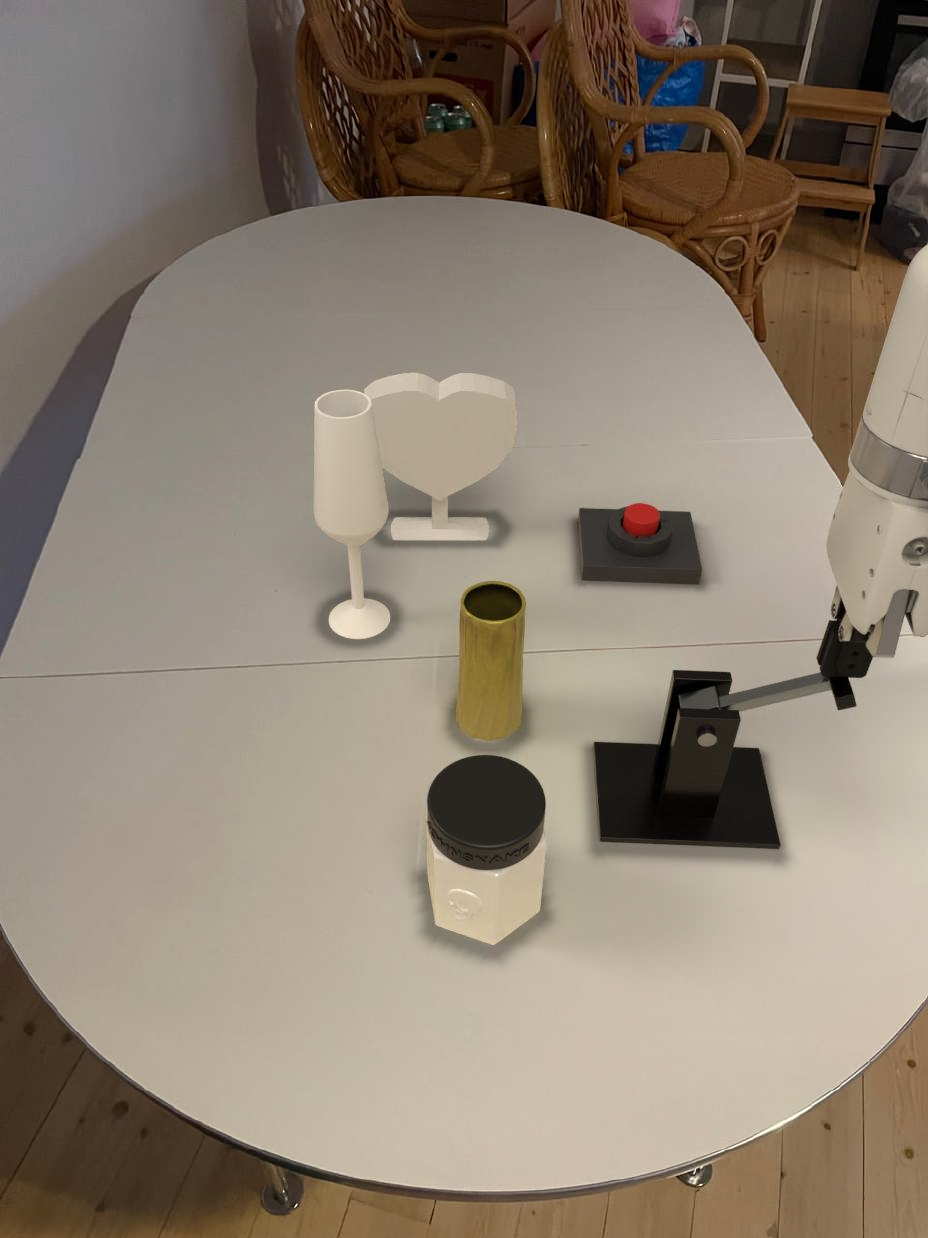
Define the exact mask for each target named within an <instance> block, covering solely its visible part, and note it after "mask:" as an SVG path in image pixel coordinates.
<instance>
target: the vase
mask: <svg viewBox="0 0 928 1238" xmlns="http://www.w3.org/2000/svg"><path fill="white" fill-rule="evenodd" d="M459 604H460V605H459V607H460V608H459V631H458V632H459V635H458V637H459V641H458V642H459V647H458V648H459V649H458V681H457V692H456V705H455V720H456V722H457V723H458V726H459V729H460V730H461V731H462V732H464V733H465V734H467V735H468V736H470V738H472V739H478V740H483V741H486V742H491V741H494V740H501V739H502V740H503V739H506V738H507V737H509V736H510V735H511V734H513V733H514V732H515V731H517V730H519V729H520V727H521V725H522V717H523V692H524V691H523V690H524V689H523V687H524V684H523V683H524V676H523V675H524V674H523V673H524V672H523V670H524V647H525V635H526V634H525V631H526V607H527V600H526V597H525V595H524V594H523V592H522V591H521V590H520V589H519V588H518V587H516V586H515V585H513V584H512V583H508V582H504V581H501V580H485V581H481V582H478V583H474V584H472V585H471V586H469V587H468V588H467V589H465V590H464V592H463V593H462V595H461V598H460V603H459Z"/></svg>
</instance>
